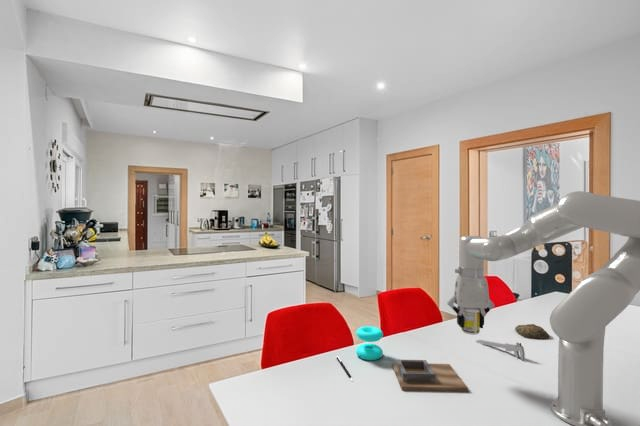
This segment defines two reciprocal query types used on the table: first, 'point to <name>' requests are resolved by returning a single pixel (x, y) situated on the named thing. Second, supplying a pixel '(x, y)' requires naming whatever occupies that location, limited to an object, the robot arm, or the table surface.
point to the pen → (344, 368)
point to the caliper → (507, 347)
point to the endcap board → (427, 376)
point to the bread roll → (532, 331)
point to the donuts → (368, 349)
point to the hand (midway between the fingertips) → (470, 326)
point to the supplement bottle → (471, 321)
